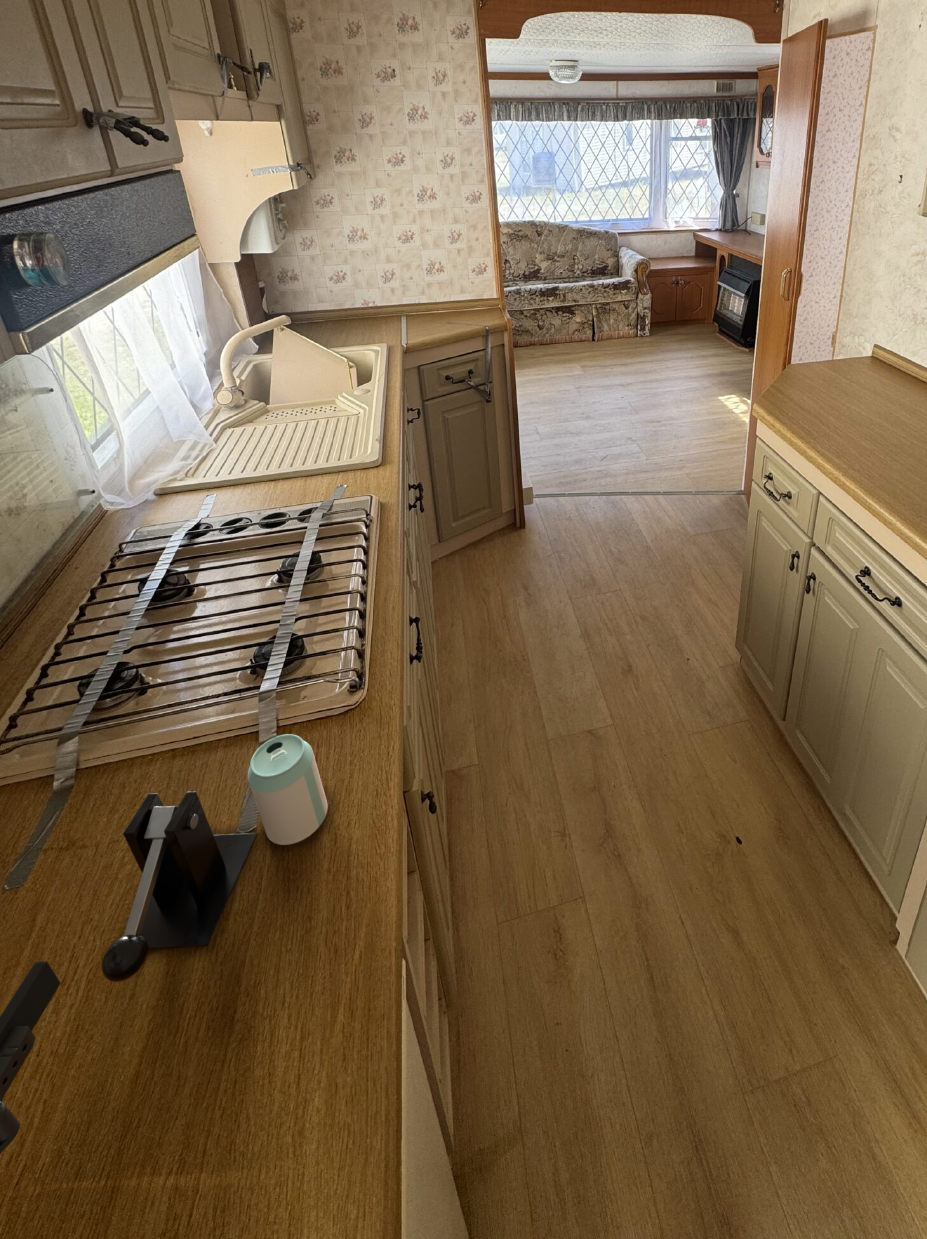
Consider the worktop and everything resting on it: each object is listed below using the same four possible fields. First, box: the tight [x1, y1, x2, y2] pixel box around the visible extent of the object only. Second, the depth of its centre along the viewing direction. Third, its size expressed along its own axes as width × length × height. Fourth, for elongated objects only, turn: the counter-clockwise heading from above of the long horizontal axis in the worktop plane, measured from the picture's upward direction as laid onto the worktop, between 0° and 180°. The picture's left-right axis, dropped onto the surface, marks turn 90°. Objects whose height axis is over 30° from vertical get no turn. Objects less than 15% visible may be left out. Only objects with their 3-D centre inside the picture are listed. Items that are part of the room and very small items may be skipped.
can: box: [247, 733, 329, 846], centre depth 79 cm, size 7×7×12 cm
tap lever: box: [101, 805, 178, 983], centre depth 66 cm, size 14×4×4 cm
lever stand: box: [122, 791, 259, 950], centre depth 71 cm, size 12×9×14 cm
